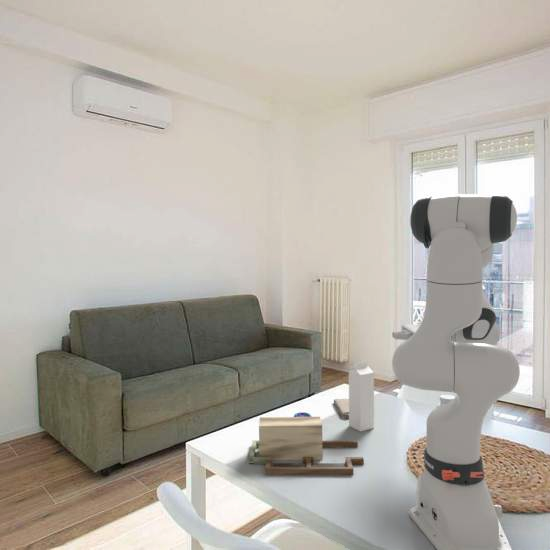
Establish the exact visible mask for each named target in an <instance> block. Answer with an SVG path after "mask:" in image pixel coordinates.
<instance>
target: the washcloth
mask: <svg viewBox="0 0 550 550" xmlns="http://www.w3.org/2000/svg"><path fill="white" fill-rule="evenodd" d="M333 402H334V403H333V404H334V406H335V405H336V406H335V407H337V408H336V409H338V410H339V411H338V410H337V411H338V412H339V414H340V416H341V419H342V420H343V419H349V398H336V399H335V398H334V399H333Z"/></svg>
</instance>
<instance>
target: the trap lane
mask: <svg viewBox="0 0 550 550" xmlns="http://www.w3.org/2000/svg"><path fill="white" fill-rule="evenodd" d="M256 446H259V440H252V443H251V447H250V452H249V457H248V464H249V463H254V464H253V465H257V464H256V463H259V464H258V465H265V467H264V469H265V470H264V474H265V475H305V476H306V475H309V476H310V475H312V476H314V475H317V476H318V475H322V476H323V475H324V476H326V475H327V476H329V475H330V476H331V475H333V476H334V475H335V476H336V475H337V476H338V475H346V476H347V475H348V476H349V475H352V476H353V475H354V466H353V465H365V462H364V461H365V458H364V457H363V456H345V463H342V462H341V463H340V462H339V463H338V462H337V463H336V462H335V463H334V462H333V463H331V462H327V463H323V462H322V463H320V462H316V463H315V460H314V458H313V457H303V460H302V464H301V462H292V463H291V462H285V463H284V462H283V463H282V462H273V463H272V460H271V457H259V456H255V455H256V451H257V447H256ZM358 447H359V442H358V440H322V448H358ZM255 450H256V451H255ZM254 456H255V457H254ZM271 463H272V464H271ZM314 464H315V466H312V465H314ZM302 465H306V466H302ZM345 465H346V466H345Z"/></svg>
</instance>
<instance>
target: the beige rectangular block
mask: <svg viewBox="0 0 550 550" xmlns="http://www.w3.org/2000/svg"><path fill="white" fill-rule="evenodd" d="M258 441H259V447H258V450H259V451H258V452H259V456H258V457H271V461H300V460H301V461H303V457H313V458H314V461H315V460H323V447H322V441H323V424H322V421H321V416H311V417H294V416H276V417H275V416H274V417H273V416H272V417H271V416H269V417H268V416H267V417H264V416H263V417H259V423H258Z"/></svg>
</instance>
